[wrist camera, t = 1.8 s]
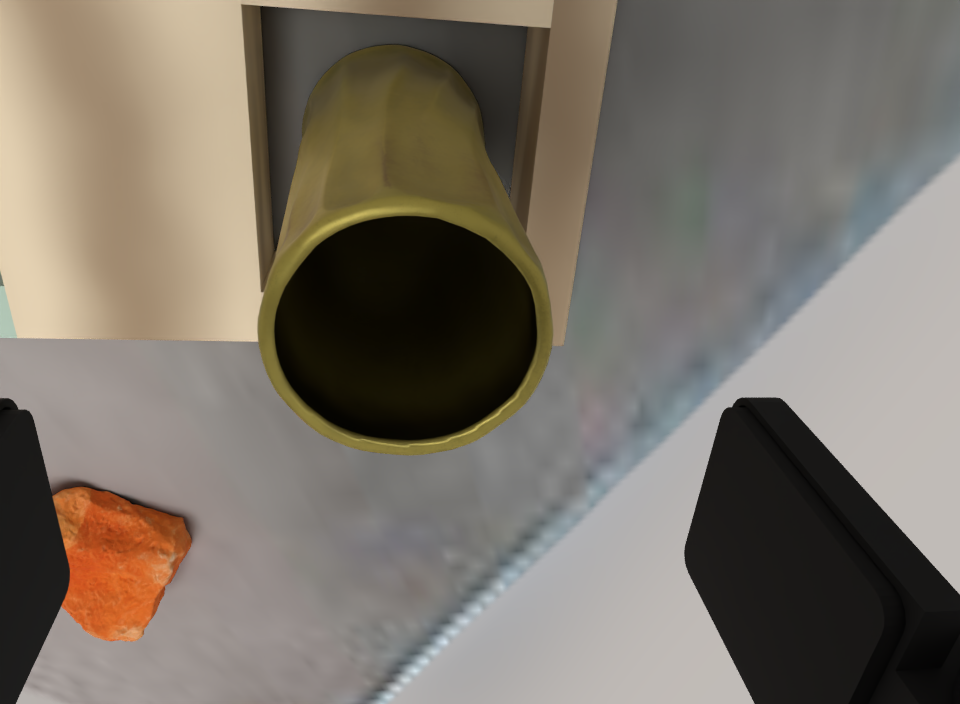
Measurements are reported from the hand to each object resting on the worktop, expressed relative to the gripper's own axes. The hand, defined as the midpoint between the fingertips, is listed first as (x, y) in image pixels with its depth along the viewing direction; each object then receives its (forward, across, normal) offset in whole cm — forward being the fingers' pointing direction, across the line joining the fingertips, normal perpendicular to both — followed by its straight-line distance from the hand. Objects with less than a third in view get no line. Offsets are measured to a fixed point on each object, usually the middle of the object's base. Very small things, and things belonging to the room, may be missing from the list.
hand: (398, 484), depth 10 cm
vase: (+18, 0, -1) cm, 18 cm away
